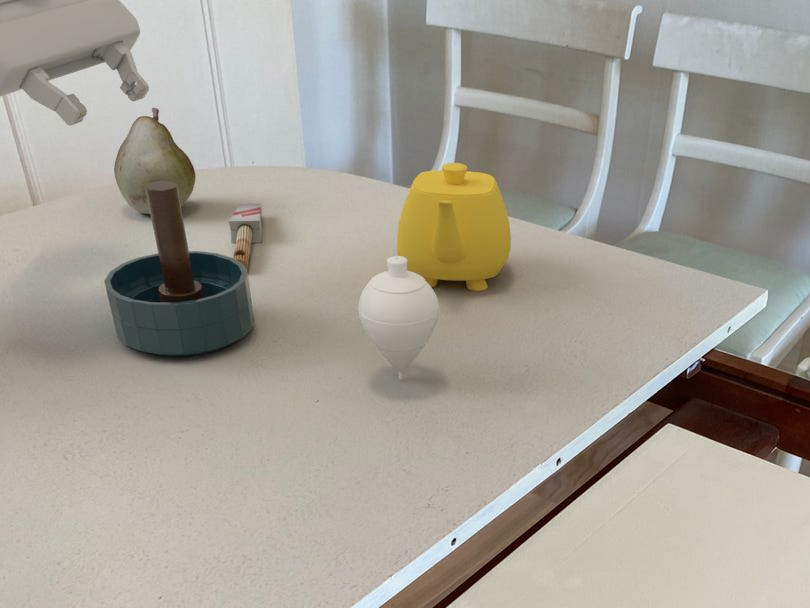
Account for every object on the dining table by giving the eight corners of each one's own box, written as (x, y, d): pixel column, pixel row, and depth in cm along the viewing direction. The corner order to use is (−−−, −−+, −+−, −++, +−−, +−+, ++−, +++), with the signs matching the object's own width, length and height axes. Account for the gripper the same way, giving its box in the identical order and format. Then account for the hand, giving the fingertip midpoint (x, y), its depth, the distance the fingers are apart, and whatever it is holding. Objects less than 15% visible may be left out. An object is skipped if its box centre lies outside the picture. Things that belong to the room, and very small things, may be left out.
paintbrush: (264, 191, 129) (253, 254, 115) (267, 212, 131) (256, 277, 117) (234, 191, 129) (220, 255, 114) (237, 213, 131) (223, 277, 116)
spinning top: (453, 387, 96) (453, 265, 88) (382, 404, 93) (376, 280, 85) (417, 355, 101) (415, 238, 93) (350, 371, 98) (341, 251, 90)
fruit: (204, 199, 136) (189, 103, 128) (194, 223, 129) (177, 123, 121) (129, 199, 135) (109, 103, 127) (115, 222, 128) (92, 122, 120)
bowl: (104, 362, 98) (89, 304, 94) (134, 304, 109) (122, 250, 105) (245, 361, 99) (236, 304, 95) (261, 304, 110) (254, 251, 106)
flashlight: (162, 333, 102) (133, 192, 93) (169, 315, 105) (142, 178, 96) (204, 332, 102) (180, 193, 93) (211, 315, 105) (187, 178, 96)
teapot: (386, 309, 110) (380, 193, 101) (408, 244, 124) (405, 139, 116) (504, 315, 109) (509, 199, 101) (512, 249, 124) (517, 144, 116)
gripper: (57, -17, 96) (161, 104, 100) (-103, 19, 82) (25, 158, 86) (83, -69, 92) (190, 59, 96) (-81, -42, 78) (53, 108, 82)
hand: (111, 107), depth 91 cm, fingers open, 8 cm apart
